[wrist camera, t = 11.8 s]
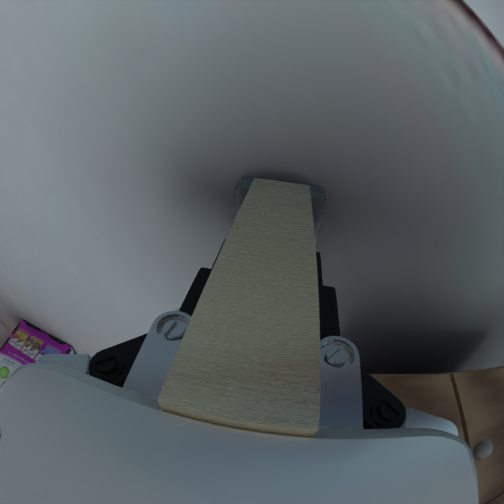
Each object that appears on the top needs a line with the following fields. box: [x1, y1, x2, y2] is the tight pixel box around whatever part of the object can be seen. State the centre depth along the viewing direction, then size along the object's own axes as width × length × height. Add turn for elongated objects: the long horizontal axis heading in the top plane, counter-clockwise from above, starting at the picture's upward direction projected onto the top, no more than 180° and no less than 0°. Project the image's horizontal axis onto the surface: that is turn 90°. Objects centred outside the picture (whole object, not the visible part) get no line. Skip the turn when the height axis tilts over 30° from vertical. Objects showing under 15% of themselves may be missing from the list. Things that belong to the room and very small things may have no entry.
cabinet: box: [370, 366, 504, 504], centre depth 14 cm, size 17×16×16 cm
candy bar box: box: [0, 320, 76, 388], centre depth 23 cm, size 11×5×16 cm, turn 82°
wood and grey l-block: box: [157, 176, 326, 437], centre depth 13 cm, size 4×16×12 cm, turn 176°
